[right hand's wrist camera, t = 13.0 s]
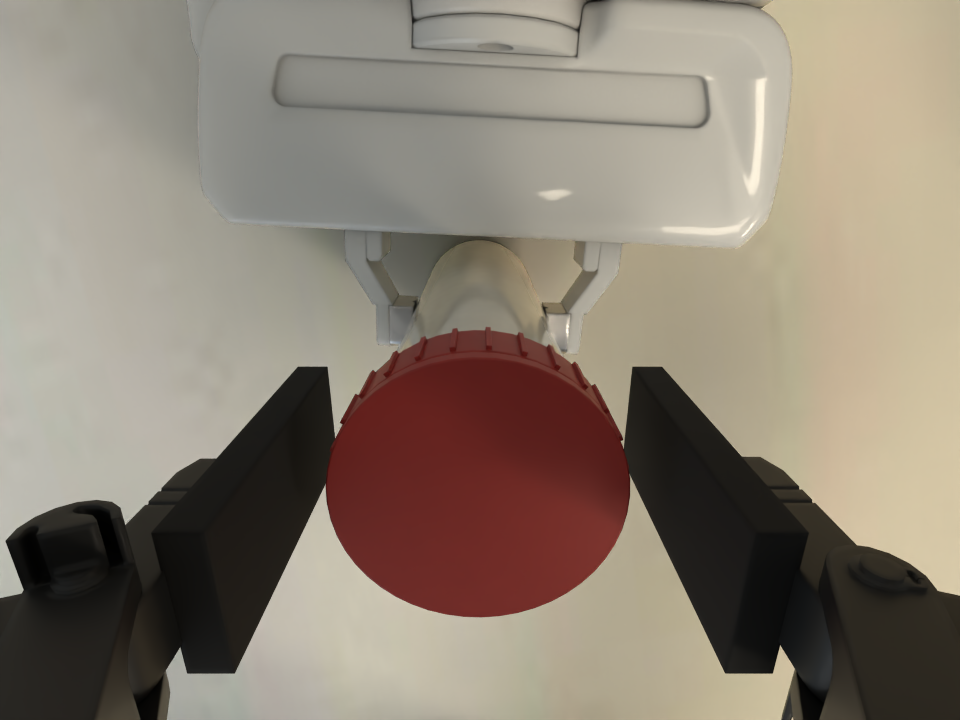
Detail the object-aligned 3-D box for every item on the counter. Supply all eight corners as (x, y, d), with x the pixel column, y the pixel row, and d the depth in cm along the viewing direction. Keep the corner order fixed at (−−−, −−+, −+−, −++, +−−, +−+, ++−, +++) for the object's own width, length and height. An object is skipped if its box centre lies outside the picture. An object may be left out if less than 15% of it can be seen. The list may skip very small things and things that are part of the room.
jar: (490, 358, 29) (503, 626, 12) (408, 302, 28) (301, 511, 11) (551, 280, 28) (661, 463, 11) (467, 218, 27) (445, 313, 10)
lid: (504, 601, 14) (508, 662, 12) (294, 479, 12) (265, 529, 11) (669, 428, 12) (700, 471, 10) (444, 267, 11) (437, 285, 9)
